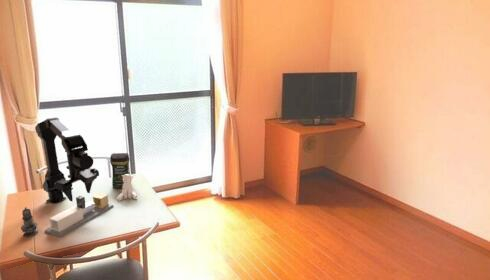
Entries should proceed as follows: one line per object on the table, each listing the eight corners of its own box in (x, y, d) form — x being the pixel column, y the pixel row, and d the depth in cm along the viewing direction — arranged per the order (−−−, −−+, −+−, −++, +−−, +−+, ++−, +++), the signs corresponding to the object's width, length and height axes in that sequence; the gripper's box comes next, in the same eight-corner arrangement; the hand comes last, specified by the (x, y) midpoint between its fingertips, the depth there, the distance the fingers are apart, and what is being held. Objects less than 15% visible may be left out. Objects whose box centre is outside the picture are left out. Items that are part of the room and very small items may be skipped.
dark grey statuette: (26, 230, 145) (21, 204, 142) (41, 229, 146) (36, 203, 142) (19, 237, 140) (13, 210, 136) (34, 237, 140) (29, 210, 137)
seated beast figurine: (117, 201, 171) (114, 178, 168) (119, 193, 180) (116, 172, 176) (137, 199, 174) (135, 177, 170) (138, 192, 182) (136, 170, 178)
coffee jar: (111, 189, 185) (107, 156, 179) (114, 183, 192) (111, 151, 187) (130, 188, 186) (127, 155, 181) (132, 182, 193) (129, 150, 188)
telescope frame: (44, 232, 144) (42, 219, 142) (99, 203, 169) (97, 191, 168) (60, 237, 140) (58, 223, 139) (113, 206, 166) (112, 195, 164)
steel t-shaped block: (57, 224, 146) (55, 207, 143) (90, 207, 161) (88, 191, 158) (62, 226, 144) (60, 208, 142) (95, 208, 159) (93, 192, 157)
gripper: (70, 174, 137) (75, 209, 141) (106, 159, 153) (110, 192, 158) (50, 169, 141) (56, 204, 146) (87, 155, 158) (91, 187, 162)
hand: (80, 196), depth 153 cm, fingers open, 9 cm apart
